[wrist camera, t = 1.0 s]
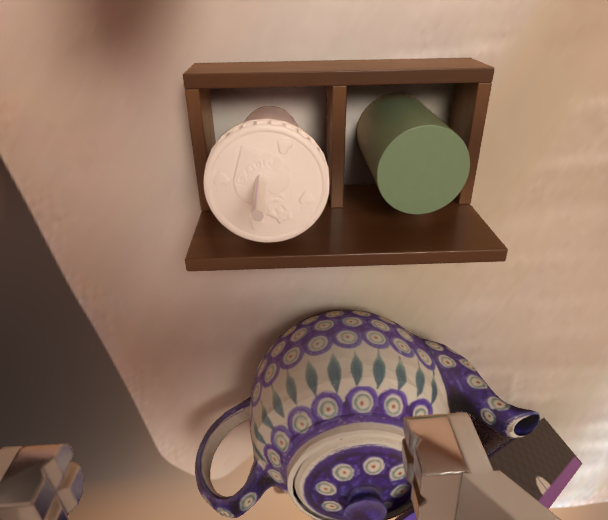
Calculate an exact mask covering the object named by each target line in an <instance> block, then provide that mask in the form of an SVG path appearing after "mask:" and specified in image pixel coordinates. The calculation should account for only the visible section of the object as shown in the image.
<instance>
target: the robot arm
mask: <svg viewBox="0 0 608 520" xmlns="http://www.w3.org/2000/svg"><path fill="white" fill-rule="evenodd" d="M403 431H404V435H405V438H404V439H403V440H402V459H403V466H404V471H405V475H406V479H407V481H408V482H409V483H410V484H411V485H412V491H411V500H412V503H413V507H414V511H415V515H416V519H417V520H561V519H560V518H559V517H557V516H556V515H555V514H554V513H552V512H551V511H550V510H549V509H547V508H546V507H545V506H544V505H542V504H541V503H540V502H539V501H537V500H536V499H535V498H534V497H532V496H531V495H530V494H529V493H527V492H526V491H525V490H524V489H522V488H521V487H520V486H519V485H517V484H516V483H515V482H514V481H512V480H511V479H510V478H509V477H507V476H506V475H505V474H504V473H502V472H501V471H493V468H492V466H491V464H490V462H489V459H488V457H487V455H486V452H485V450H484V448H483V446H482V443H481V441H480V439H479V436H478V434H477V432H476V430H475V427H474V425H473V423H472V420H471V418H470V416H469V415H468V414H467V413H466V412H461V413H448V414H432V415H421V416H410V417H404V419H403ZM73 454H74V452H73V450H72V448H71V446H70V444H48V445H29V446H14V447H3V448H2V449H1V450H0V520H69V517H68V514H69V513H70V512H71V511H73V510H74V509H75V508H76V507H77V506H78V504H79V501H80V498H81V496H82V492H83V485H84V477H83V471H82V469H81V467H80V465H79V464H77V463H76V462H74V461H73V460H71V458H72V456H73Z"/></svg>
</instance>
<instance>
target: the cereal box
mask: <svg viewBox="0 0 608 520" xmlns="http://www.w3.org/2000/svg"><path fill="white" fill-rule="evenodd" d="M487 457H488V459H489V462H490V464H491V466H492V468H493V471H501V472H502V473H504V474H505V475H506V476H507V477H509V478H510V479H511V480H512V481H514V482H515V483H516V484H517V485H519V486H520V487H521V488H522V489H524V490H525V491H526V492H527V493H529V494H530V495H531V496H532V497H534V498H535V499H536V500H537V501H539V502H540V503H541V504H542V505H544V506H545V507H546V508H547V509H549V508H550V506H551V505H552V504H553V502H554V501H555V500H556V498H557V497H558V496H559V494H560V493H561V492H562V490H563V489H564V488H565V486H566V485H567V484H568V482H569V481H570V479H571V478H572V477H573V475H574V474H575V473H576V471H577V470H578V469H579V467H580V466H581V465H582V463H581V461H580V460H579V459H578V458H577V457H576V455H575V454H574V453H573V452H572V451H571V449H570V448H569V447H568V446H567V445H566V443H565V442H564V441H563V440H562V439H561V437H560V436H559V435H558V434H557V433H556V432H555V430H554V429H553V428H552V427H551V426H550V424H549V423H548V422H547V421H546V420H545V418H543V419H541V420H540V421H539V423H538V425H537V427H536V428H535V429H534V430H533V431H532V432H531V433H530V434H528V435H526V436H523V437H520V438H513V439H512V440H510V441H509V442H507V443H506V444H504V445H503V446H501V447H500V448H498V449H497V450H495V451H494V452H493V453H491V454H490V455H488V456H487ZM395 520H417V519H416V515H415V511H414V507H412V508H410V509H409V510H407V511H406V512H404V513H403V514H402V515H400V516H399V517H397V518H396V519H395Z"/></svg>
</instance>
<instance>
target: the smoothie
mask: <svg viewBox="0 0 608 520" xmlns="http://www.w3.org/2000/svg"><path fill="white" fill-rule="evenodd" d="M204 192H205V196H206V200H207V202H208V205H209V207H210V209H211V211H212V212H213V214H214V215H215V217H216V218H217V219H218V220H219V222H220V223H221V224H222V225H224V226H225V227H226V228H227V229H228V230H230V231H231V232H233V233H234V234H236V235H238V236H240V237H243V238H245V239H248V240H252V241H257V242H279V241H284V240H287V239H291V238H293V237H295V236H297V235H299V234H301V233H303V232H304V231H306V230H307V229H308V228H309V227H311V226H312V225H313V224H314V223H315V221H316V220H317V219H318V218H319V216H320V215H321V213H322V211H323V210H324V208H325V205H326V203H327V199H328V195H329V168H328V165H327V162H326V159H325V156H324V153H323V152H322V150H321V149H320V147H319V146H318V145H317V143H316V142H315V140H314V139H313V138H312V137H310V136H309V135H308V134H307V133H306V132H304V131H303V130H302V129H301V128H299V126H298V125H297V123H296V122H295V120H294V119H293V117H292V116H291V115H290V114H289V113H288V112H287V111H285V110H283V109H281V108H279V107H275V106H265V107H261V108H259V109H257V110H255V111H254V112H252V113H251V114H250V115H249V116H248V117H247V119H246V120H245V121H244V122H243V123H242V124H239V125H236V126H234V127H233V128H232V129H230V130H229V131H228V132H226V133H225V134H224V135H222V136H221V137H220V138H219V140H218V141H217V142H216V144H215V145H214V146H213V148H212V149H211V152H210V154H209V157H208V159H207V162H206V167H205V172H204Z"/></svg>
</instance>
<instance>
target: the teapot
mask: <svg viewBox="0 0 608 520" xmlns="http://www.w3.org/2000/svg"><path fill="white" fill-rule="evenodd" d="M460 411H463V412H467V413H469V414H471V415H472V416H474V417H475V418H476V419H478V420H479V421H481V422H482V423H484V424H485V425H487V426H488V427H490V428H491V429H493V430H494V431H496V432H498V433H500V434H501V435H504V436H507V437H511V438H520V437H523V436H526V435H528V434H530V433H531V432H532V431H533V430H534V429H535V428H536V427H537V425H538V423H539V420H540V416H539V414H538V413H537V412H535V411H532V410H527V409H522V408H517V407H514V406H512V405H509V404H507V403H506V402H504V401H503V400H501V399H500V398H499V397H498V396H497V395H496V394H495V393H494V392H493V391H492V390H491V389H490V387H489V386H488V385H487V384H486V383H485V381H484V380H483V379H482V377H481V376H480V375H479V374H478V372H477V371H476V370H475V368H474V367H473V366H472V365H471V364H470V363H469V362H468V361H467V360H466V359H465V358H464V357H462V356H461V355H459V354H458V353H456V352H455V351H453V350H451V349H450V348H448V347H447V346H445V345H443V344H440V343H436V342H433V341H428V340H425V339H421V338H419V337H417V336H415V335H414V334H412V333H410V332H408V331H406V330H405V329H404V328H402V327H401V326H400V325H398V324H397V323H395V322H392V321H390V320H388V319H386V318H384V317H381V316H378V315H375V314H372V313H368V312H361V311H345V310H343V311H332V312H327V313H322V314H319V315H316V316H314V317H311V318H308V319H305V320H303V321H301V322H300V323H298V324H297V325H295V326H293V327H292V328H290V329H289V330H288V331H286V332H285V333H284V334H283V335H281V336H280V337H279V338H278V339H277V340H276V342H275V343H274V344H273V345H272V347H271V348H270V349H269V350H268V352H267V353H266V355H265V356H264V358H263V359H262V361H261V362H260V364H259V366H258V370H257V373H256V376H255V379H254V384H253V389H252V394H251V397H250V398H248V399H247V400H245V401H243V402H242V403H240V404H238V405H237V406H235V407H233V408H232V409H230V410H229V411H227V412H226V413H224V414H223V415H222V416H221V417H220V418H218V419H217V420H216V421H215V422H214V424H213V425H212V426H211V427H210V428H209V430H208V431H207V433H206V434H205V436H204V438H203V440H202V442H201V444H200V446H199V449H198V452H197V456H196V463H195V475H196V481H197V486H198V489H199V491H200V493H201V495H202V497H203V498H204V499H205V500H206V502H207V503H208V504H209V505H210V506H212V507H213V508H214V509H215V510H216V511H217V512H219V513H220V514H221V515H223V516H225V517H229V518H237V517H239V516H241V515H243V514H244V513H245V512H246V511H247V510H249V509H250V508H251V507H252V506H253V505H254V504H255V503H256V502H257V501H258V500H259V498H260V497H261V496H262V494H263V493H264V492H265V491H266V490H267V489H268V488H270V487H272V486H277V487H279V488H280V489H282V490H283V491H284V492H286V493H288V494H289V495H290V497H291V499H292V500H293V502H294V503H295V504H296V505H297V506H298V508H299V509H300V510H301V511H303V512H304V513H305V514H307V515H308V516H310V517H312V518H314V519H316V520H388V519H391V518H393V517H395V516H398V515H400V514H402V513H404V512H405V511H407V510H409V509H410V508H412V507H413V503H412V500H411V491H412V485H411V484H410V483H409V482H408V481H407V479H406V475H405V471H404V466H403V459H402V440H403V439H404V438H405V435H404V431H403V419H404V417H410V416H421V415H432V414H448V413H456V412H460ZM248 419H250V433H251V439H252V444H253V452H254V462H253V465H252V467H251V471H250V473H249V476H248V479H247V481H246V483H245V485H244V486H243V487H242V488H241V489H240V490H239V491H238V492H237V493H236V494H235V495H233V496H229V497H225V496H221V495H220V494H218V493H217V492H216V491H215V489H214V488H213V486H212V483H211V480H210V469H211V463H212V459H213V456H214V453H215V451H216V449H217V447H218V446H219V444H220V443H221V441H222V440H223V439H224V438H225V437H226V435H227V434H228V433H229V432H230V431H231V430H233V429H234V428H235V427H236V426H238V425H239V424H241V423H242V422H244V421H246V420H248Z"/></svg>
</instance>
